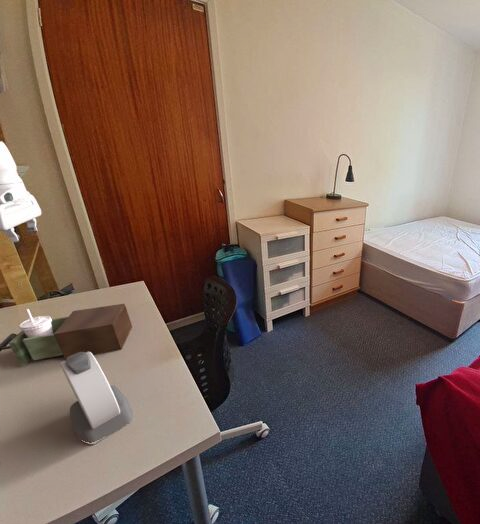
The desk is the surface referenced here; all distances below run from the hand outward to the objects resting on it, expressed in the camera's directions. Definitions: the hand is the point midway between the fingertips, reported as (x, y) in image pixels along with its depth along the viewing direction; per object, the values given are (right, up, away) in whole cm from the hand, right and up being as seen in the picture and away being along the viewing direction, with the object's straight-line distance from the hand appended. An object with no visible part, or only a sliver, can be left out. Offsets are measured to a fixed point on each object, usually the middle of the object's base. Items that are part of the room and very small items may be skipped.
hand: (25, 236), depth 90 cm
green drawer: (+12, -35, -4) cm, 37 cm away
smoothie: (+13, -35, -5) cm, 37 cm away
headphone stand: (+45, -46, -23) cm, 68 cm away
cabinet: (+24, -34, +1) cm, 42 cm away
